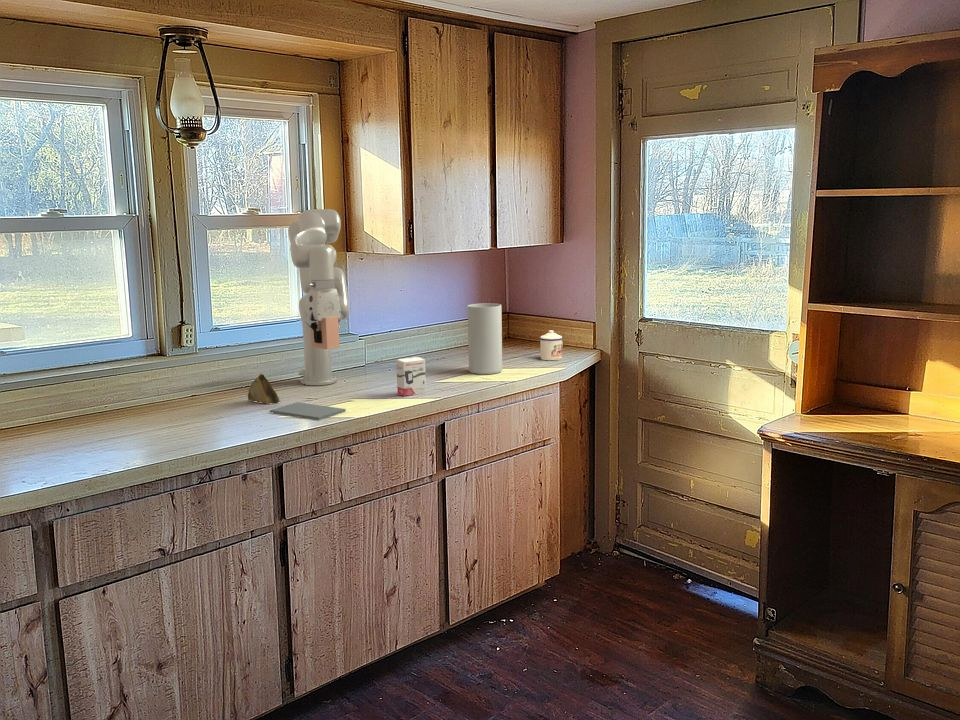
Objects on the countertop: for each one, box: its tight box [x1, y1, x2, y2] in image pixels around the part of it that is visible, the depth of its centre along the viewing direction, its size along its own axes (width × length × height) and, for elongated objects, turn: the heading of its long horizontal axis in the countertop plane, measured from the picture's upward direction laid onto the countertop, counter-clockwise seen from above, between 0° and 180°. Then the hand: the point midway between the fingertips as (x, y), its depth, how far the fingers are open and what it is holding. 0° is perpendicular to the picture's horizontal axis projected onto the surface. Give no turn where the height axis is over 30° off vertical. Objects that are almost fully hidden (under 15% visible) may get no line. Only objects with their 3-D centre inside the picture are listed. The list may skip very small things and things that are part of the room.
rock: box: [247, 373, 281, 405], centre depth 280 cm, size 11×9×10 cm
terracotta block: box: [311, 316, 340, 350], centre depth 278 cm, size 5×8×10 cm, turn 49°
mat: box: [269, 401, 347, 421], centre depth 265 cm, size 20×12×1 cm, turn 58°
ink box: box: [395, 356, 427, 397], centre depth 287 cm, size 8×5×12 cm, turn 123°
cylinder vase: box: [467, 302, 503, 375], centre depth 322 cm, size 12×12×25 cm
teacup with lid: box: [539, 329, 564, 361], centre depth 348 cm, size 12×9×12 cm
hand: (325, 341), depth 278 cm, fingers closed on terracotta block, 5 cm apart
